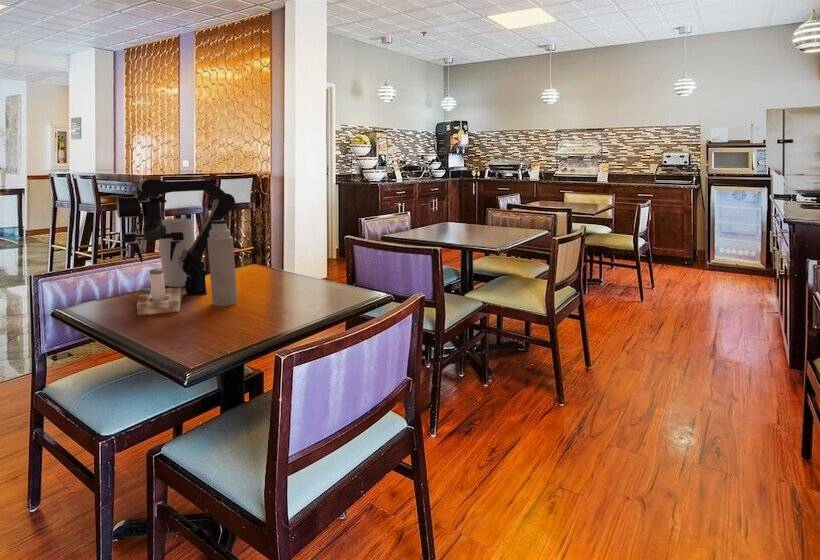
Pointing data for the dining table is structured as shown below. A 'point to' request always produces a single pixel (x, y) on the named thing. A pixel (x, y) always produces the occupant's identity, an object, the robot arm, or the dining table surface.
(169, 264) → the cylinder vase
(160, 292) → the plug
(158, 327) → the dining table surface
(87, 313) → the dining table surface
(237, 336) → the dining table surface
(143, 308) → the socket board
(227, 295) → the thermos bottle
